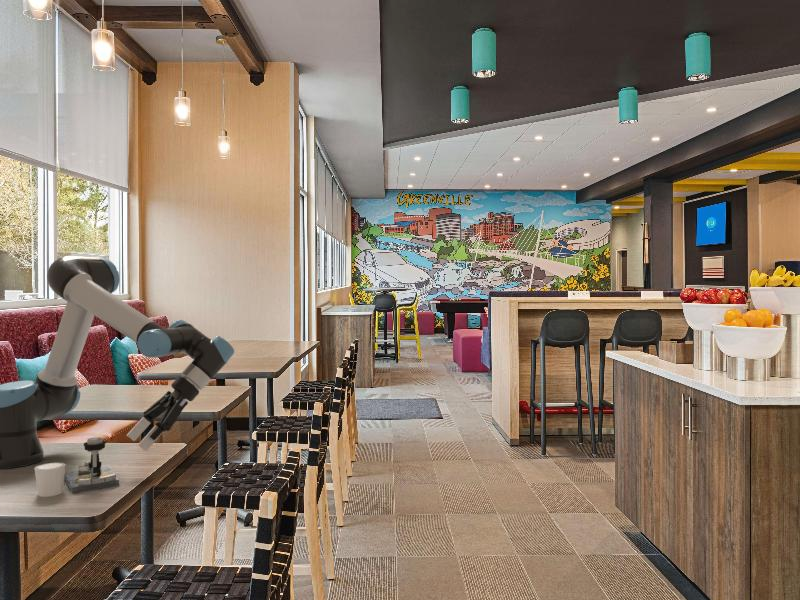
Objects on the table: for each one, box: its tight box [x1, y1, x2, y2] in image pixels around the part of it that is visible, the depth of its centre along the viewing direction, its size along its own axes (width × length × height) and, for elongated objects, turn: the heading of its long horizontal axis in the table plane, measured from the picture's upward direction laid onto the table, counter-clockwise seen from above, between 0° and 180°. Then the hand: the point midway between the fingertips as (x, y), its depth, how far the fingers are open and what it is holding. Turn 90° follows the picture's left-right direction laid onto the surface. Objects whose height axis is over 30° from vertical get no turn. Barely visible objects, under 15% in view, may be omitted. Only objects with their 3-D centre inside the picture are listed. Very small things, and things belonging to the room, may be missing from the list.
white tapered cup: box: [33, 462, 66, 498], centre depth 161 cm, size 7×7×7 cm
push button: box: [83, 437, 107, 478], centre depth 168 cm, size 7×5×10 cm
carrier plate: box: [64, 461, 120, 494], centre depth 170 cm, size 15×11×4 cm
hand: (135, 443), depth 174 cm, fingers open, 13 cm apart
